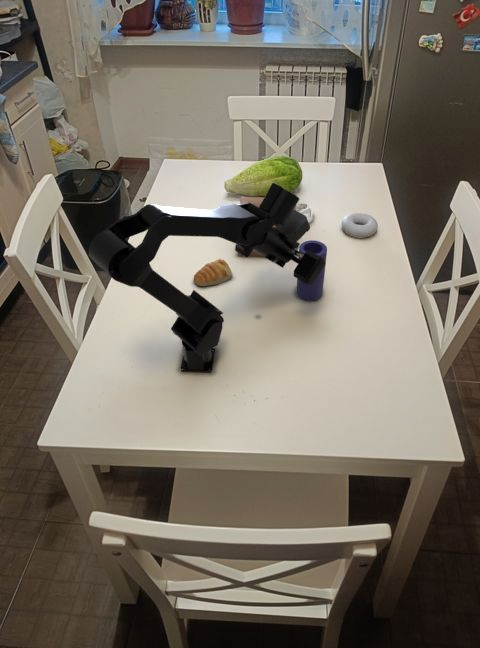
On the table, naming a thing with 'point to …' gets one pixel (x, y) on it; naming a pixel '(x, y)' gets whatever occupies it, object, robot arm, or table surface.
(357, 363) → the table surface
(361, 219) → the donut
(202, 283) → the pastry
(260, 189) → the lettuce
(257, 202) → the bread box lid
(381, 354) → the table surface
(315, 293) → the purple hollow cylinder
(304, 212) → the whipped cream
